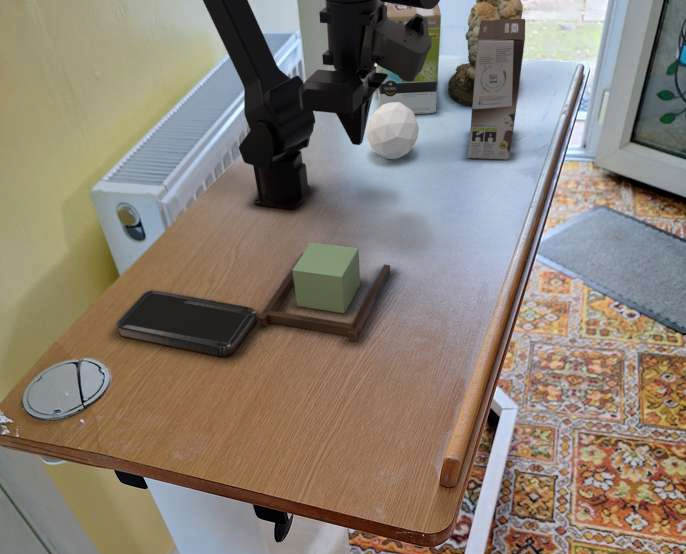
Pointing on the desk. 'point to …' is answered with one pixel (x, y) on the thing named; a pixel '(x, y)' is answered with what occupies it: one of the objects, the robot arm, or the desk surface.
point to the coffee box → (496, 87)
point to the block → (327, 277)
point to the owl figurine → (490, 5)
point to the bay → (315, 323)
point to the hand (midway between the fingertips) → (357, 143)
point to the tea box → (424, 86)
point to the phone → (187, 322)
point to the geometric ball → (392, 130)
